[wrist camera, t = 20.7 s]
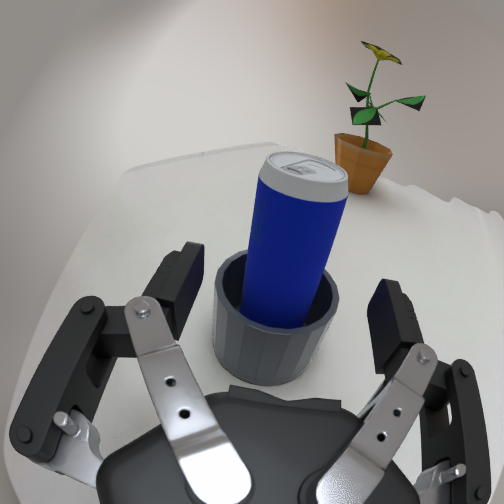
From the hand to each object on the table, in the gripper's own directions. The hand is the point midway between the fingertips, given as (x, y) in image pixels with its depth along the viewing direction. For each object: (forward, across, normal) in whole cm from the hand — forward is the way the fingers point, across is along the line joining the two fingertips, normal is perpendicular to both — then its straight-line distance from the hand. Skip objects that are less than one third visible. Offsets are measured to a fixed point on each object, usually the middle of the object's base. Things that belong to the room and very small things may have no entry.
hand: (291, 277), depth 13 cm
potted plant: (+48, -14, +13) cm, 52 cm away
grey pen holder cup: (+6, 0, +13) cm, 14 cm away
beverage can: (+6, 0, +12) cm, 13 cm away
